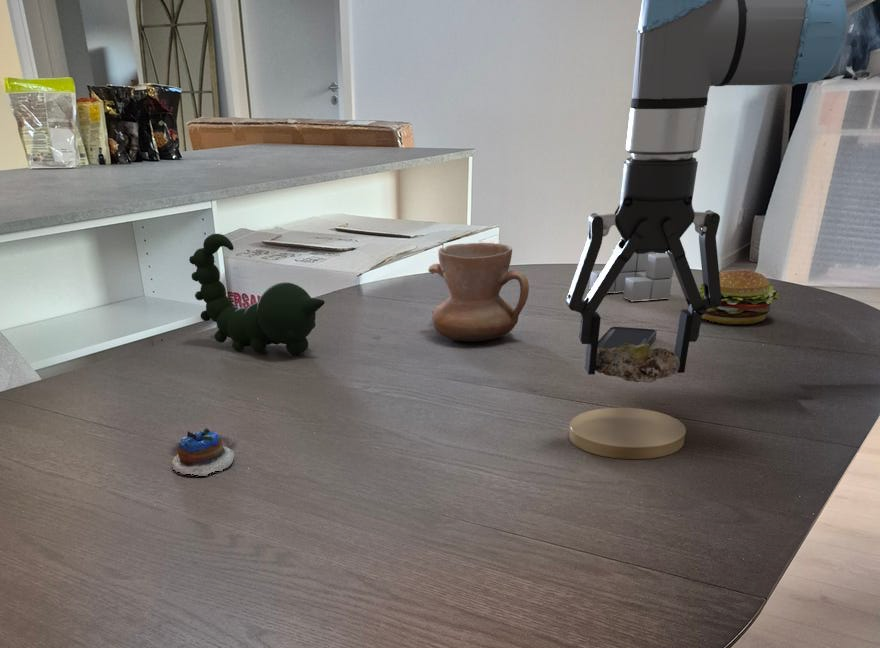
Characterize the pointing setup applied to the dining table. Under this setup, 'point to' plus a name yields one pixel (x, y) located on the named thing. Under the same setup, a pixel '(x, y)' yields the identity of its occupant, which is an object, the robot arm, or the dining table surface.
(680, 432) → the wood disc
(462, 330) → the ceramic jug
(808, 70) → the robot arm
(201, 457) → the dessert
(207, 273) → the toy figurine
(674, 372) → the mineral rock
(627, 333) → the phone
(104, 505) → the dining table surface
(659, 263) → the puzzle cube
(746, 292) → the food
